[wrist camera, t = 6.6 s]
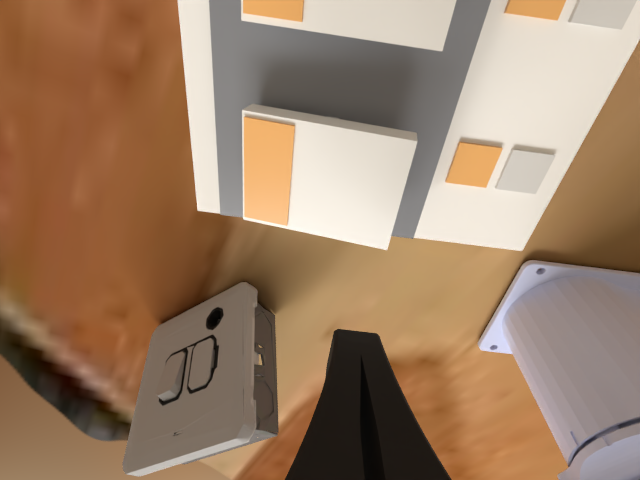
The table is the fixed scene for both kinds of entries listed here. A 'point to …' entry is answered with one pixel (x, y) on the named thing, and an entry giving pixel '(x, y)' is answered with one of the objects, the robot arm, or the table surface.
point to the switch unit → (420, 103)
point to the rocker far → (324, 174)
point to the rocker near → (360, 19)
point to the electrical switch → (206, 384)
